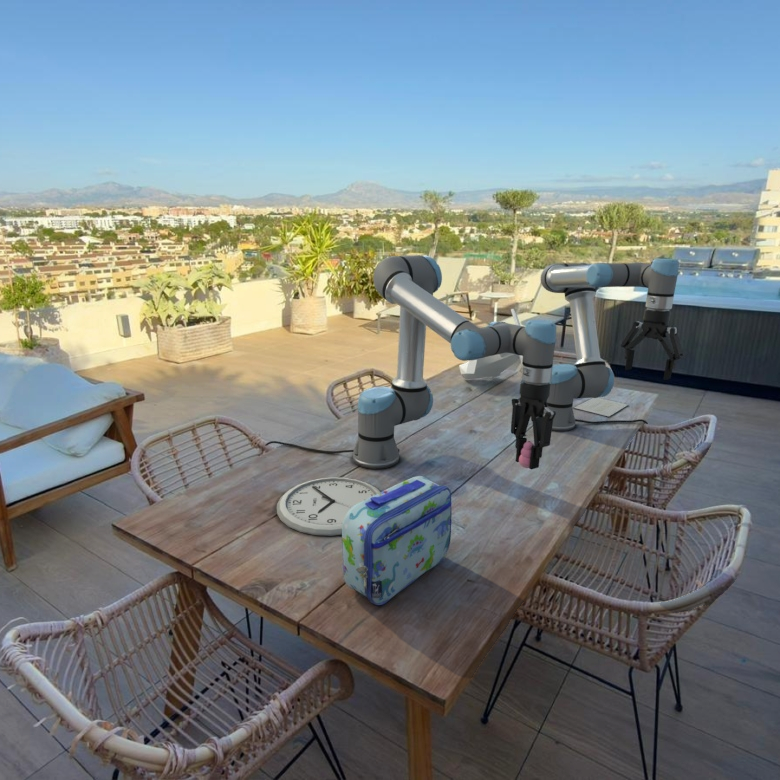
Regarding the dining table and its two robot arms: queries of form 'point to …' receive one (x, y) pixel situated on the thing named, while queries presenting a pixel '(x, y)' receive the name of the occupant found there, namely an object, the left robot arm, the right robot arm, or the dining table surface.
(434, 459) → the dining table surface
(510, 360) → the white plastic object
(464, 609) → the dining table surface
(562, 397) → the right robot arm
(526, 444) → the dog chew toy
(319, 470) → the dining table surface
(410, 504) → the lunch box
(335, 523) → the wall clock
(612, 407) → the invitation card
